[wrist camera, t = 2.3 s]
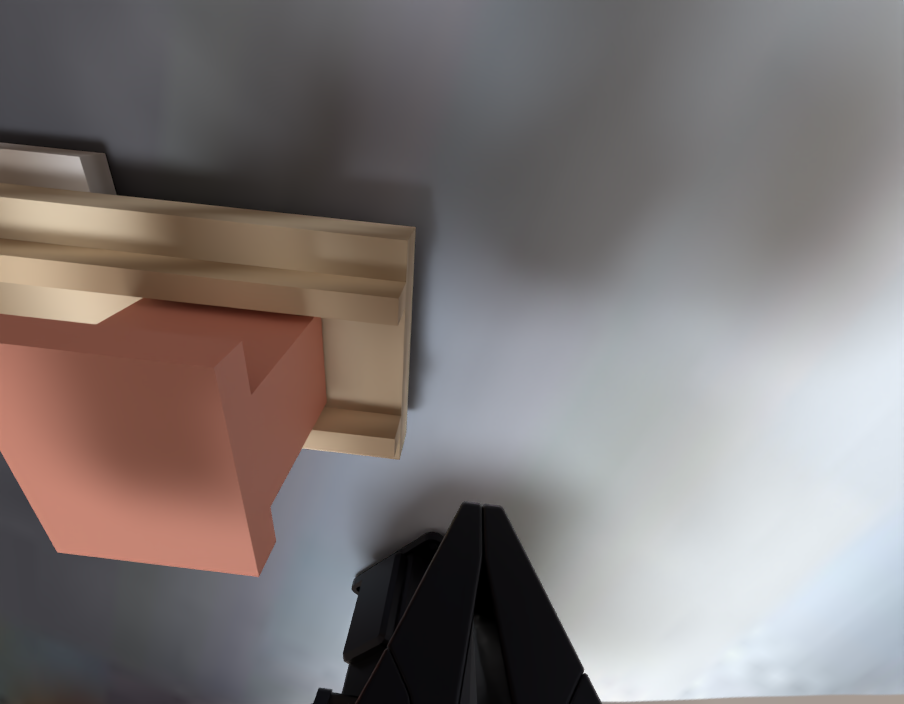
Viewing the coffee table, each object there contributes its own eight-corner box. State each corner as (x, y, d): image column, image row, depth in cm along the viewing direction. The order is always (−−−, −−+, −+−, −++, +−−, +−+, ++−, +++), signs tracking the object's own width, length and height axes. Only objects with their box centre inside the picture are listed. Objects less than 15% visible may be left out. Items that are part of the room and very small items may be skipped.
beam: (421, 186, 14) (399, 214, 10) (409, 435, 19) (391, 509, 15) (-385, 101, 14) (-662, 102, 11) (-187, 367, 19) (-333, 423, 16)
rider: (317, 267, 12) (213, 367, 8) (328, 432, 15) (258, 576, 11) (143, 248, 12) (-65, 336, 8) (188, 416, 15) (57, 552, 11)
